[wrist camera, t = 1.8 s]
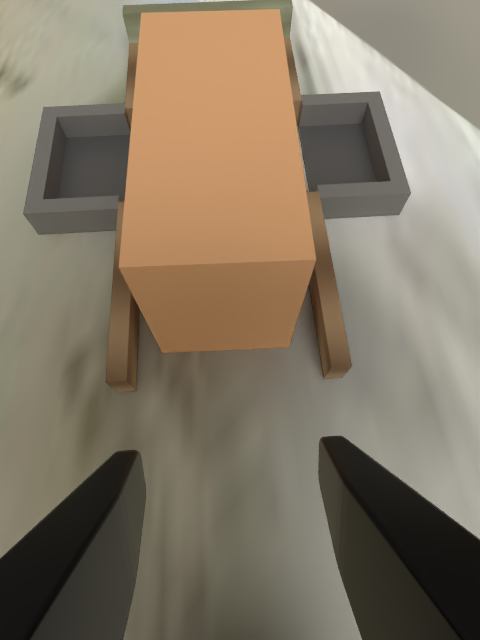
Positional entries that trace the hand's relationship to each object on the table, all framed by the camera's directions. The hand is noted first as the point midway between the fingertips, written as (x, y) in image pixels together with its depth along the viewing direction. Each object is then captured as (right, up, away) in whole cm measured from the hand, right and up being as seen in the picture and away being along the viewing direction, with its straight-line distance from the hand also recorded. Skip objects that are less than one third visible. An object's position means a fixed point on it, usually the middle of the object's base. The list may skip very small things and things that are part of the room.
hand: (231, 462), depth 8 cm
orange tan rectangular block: (-1, +8, +18) cm, 20 cm away
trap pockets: (-1, +13, +20) cm, 24 cm away
